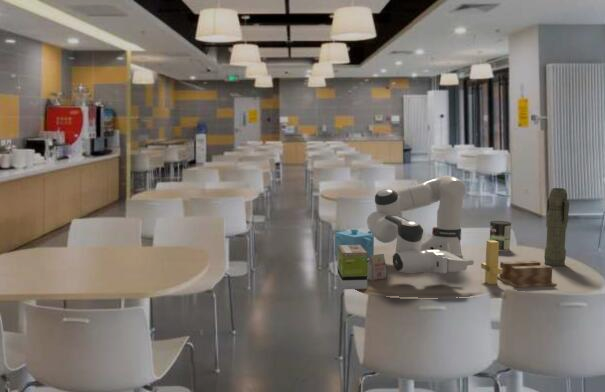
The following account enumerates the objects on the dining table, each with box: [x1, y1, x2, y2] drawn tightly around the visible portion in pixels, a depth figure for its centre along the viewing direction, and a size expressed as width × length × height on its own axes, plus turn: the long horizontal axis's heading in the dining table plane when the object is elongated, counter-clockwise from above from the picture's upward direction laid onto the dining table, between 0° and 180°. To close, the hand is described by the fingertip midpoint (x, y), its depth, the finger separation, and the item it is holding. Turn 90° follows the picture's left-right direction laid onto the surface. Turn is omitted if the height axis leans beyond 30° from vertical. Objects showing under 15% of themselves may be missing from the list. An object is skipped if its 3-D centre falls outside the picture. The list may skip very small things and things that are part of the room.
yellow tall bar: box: [480, 240, 503, 285], centre depth 244 cm, size 4×11×17 cm, turn 10°
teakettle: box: [333, 228, 375, 259], centre depth 285 cm, size 19×19×15 cm
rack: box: [497, 260, 558, 288], centre depth 248 cm, size 18×16×7 cm
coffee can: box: [489, 220, 512, 252], centre depth 312 cm, size 10×10×14 cm
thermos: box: [543, 187, 570, 267], centre depth 277 cm, size 9×12×35 cm
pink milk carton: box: [367, 253, 387, 281], centre depth 251 cm, size 4×7×10 cm, turn 117°
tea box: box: [336, 245, 369, 290], centre depth 241 cm, size 15×10×15 cm, turn 5°
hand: (467, 259), depth 242 cm, fingers open, 8 cm apart
